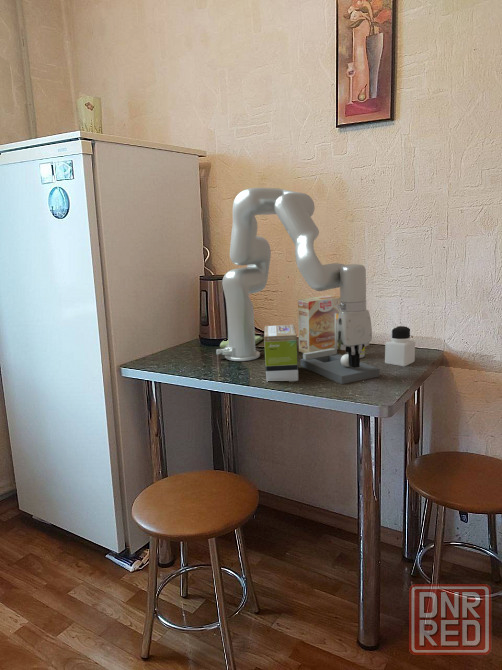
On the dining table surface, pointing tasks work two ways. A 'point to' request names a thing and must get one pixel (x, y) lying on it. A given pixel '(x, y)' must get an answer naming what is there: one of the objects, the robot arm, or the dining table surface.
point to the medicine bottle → (400, 347)
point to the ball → (345, 360)
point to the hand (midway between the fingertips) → (354, 366)
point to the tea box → (281, 353)
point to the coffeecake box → (317, 323)
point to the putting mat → (336, 365)
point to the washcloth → (224, 343)
